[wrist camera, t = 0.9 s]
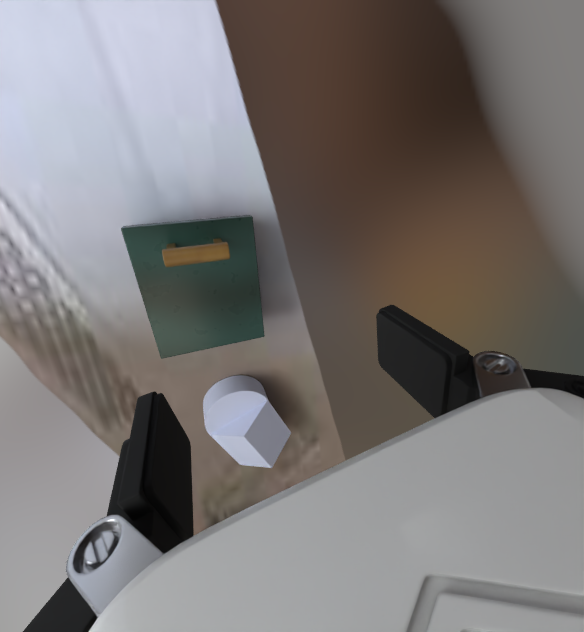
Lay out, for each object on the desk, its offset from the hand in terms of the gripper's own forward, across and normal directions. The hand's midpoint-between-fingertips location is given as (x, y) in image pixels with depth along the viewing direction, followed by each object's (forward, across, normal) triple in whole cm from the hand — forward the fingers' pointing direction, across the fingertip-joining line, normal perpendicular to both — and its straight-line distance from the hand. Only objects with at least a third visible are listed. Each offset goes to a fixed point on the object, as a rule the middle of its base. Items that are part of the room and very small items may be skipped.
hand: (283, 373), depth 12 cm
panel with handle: (+20, +3, +2) cm, 20 cm away
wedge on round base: (+24, +4, +24) cm, 34 cm away
